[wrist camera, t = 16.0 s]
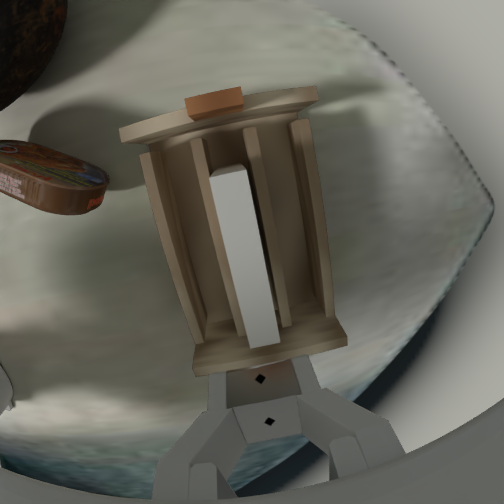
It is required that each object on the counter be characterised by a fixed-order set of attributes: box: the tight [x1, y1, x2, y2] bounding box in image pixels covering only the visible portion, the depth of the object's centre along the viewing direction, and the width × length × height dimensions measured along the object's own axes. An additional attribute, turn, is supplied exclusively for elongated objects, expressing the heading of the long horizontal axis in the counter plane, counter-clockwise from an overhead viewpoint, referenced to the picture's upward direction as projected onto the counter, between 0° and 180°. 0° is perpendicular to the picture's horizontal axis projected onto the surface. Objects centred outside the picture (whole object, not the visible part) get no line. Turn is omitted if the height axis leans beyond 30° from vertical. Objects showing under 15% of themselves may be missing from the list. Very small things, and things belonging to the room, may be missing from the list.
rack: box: [119, 86, 348, 377], centre depth 22 cm, size 13×20×11 cm, turn 11°
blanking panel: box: [209, 163, 280, 349], centre depth 22 cm, size 2×11×10 cm, turn 12°
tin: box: [0, 140, 110, 215], centre depth 21 cm, size 15×3×8 cm, turn 66°
